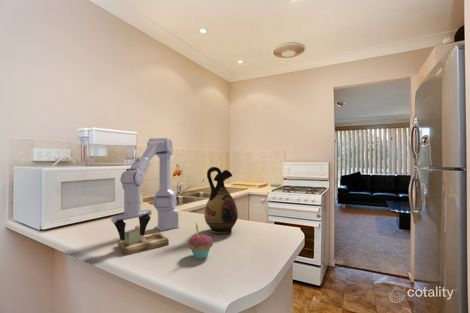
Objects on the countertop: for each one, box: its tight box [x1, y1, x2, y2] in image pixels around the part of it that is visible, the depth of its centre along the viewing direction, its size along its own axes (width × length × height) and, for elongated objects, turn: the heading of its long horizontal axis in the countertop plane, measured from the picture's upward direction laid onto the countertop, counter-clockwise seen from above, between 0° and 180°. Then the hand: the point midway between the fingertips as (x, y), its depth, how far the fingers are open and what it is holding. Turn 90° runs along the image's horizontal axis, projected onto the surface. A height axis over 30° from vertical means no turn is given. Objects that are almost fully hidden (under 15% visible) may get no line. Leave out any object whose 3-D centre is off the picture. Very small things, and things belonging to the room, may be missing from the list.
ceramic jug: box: [203, 166, 239, 235], centre depth 107 cm, size 17×15×30 cm
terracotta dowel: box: [134, 224, 146, 236], centre depth 98 cm, size 4×4×5 cm
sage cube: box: [124, 228, 140, 246], centre depth 88 cm, size 4×4×5 cm
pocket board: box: [117, 231, 170, 256], centre depth 90 cm, size 16×11×2 cm
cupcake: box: [187, 222, 214, 260], centre depth 80 cm, size 9×8×12 cm
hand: (132, 237), depth 88 cm, fingers open, 7 cm apart
